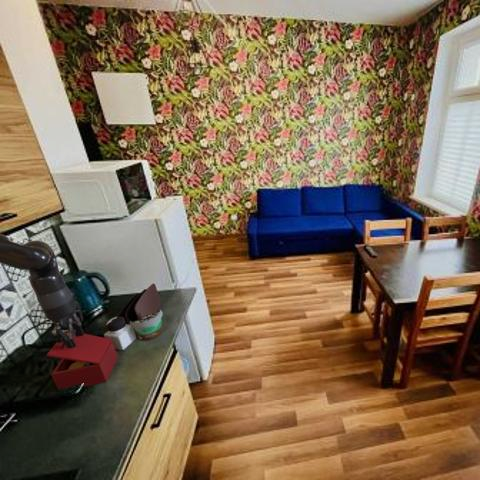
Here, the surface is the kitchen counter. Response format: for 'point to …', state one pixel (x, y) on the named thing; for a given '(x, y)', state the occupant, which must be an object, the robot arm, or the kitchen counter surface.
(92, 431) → the kitchen counter surface
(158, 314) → the food container
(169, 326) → the kitchen counter surface
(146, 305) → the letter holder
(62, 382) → the maroon rectangular box
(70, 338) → the robot arm
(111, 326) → the medicine bottle
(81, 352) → the box lid
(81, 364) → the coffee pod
